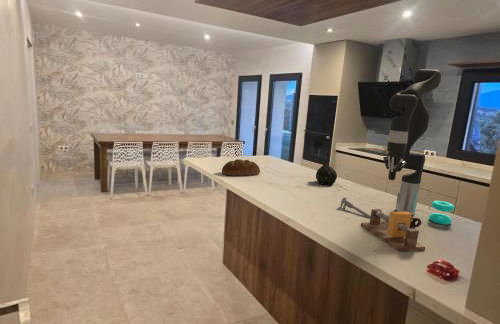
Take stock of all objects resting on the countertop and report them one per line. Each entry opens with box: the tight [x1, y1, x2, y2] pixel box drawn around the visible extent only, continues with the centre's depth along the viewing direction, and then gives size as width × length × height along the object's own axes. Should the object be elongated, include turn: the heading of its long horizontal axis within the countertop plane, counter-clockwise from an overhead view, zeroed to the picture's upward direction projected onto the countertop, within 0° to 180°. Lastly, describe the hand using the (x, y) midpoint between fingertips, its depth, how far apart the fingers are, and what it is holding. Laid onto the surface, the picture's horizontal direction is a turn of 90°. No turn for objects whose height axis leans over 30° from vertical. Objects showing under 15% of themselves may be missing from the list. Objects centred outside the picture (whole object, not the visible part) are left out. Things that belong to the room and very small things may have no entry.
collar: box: [387, 211, 413, 237], centre depth 132 cm, size 3×8×10 cm, turn 104°
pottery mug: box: [410, 215, 422, 229], centre depth 149 cm, size 12×10×8 cm
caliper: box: [340, 196, 371, 219], centre depth 165 cm, size 20×1×6 cm, turn 35°
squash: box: [315, 163, 338, 186], centre depth 223 cm, size 14×15×15 cm
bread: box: [221, 158, 261, 177], centre depth 234 cm, size 16×29×11 cm, turn 113°
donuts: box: [428, 200, 455, 226], centre depth 160 cm, size 10×10×10 cm
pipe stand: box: [360, 208, 426, 253], centre depth 136 cm, size 26×12×8 cm, turn 14°
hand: (391, 179), depth 140 cm, fingers closed
